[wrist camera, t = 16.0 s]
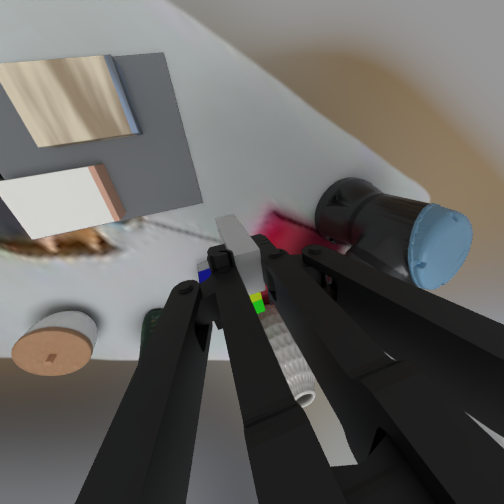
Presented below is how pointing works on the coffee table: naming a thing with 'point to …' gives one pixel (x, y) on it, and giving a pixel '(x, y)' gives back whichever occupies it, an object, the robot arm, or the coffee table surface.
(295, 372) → the vase
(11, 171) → the mat
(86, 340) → the lidded jar
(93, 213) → the cream slab
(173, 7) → the coffee table surface
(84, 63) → the oak slab
